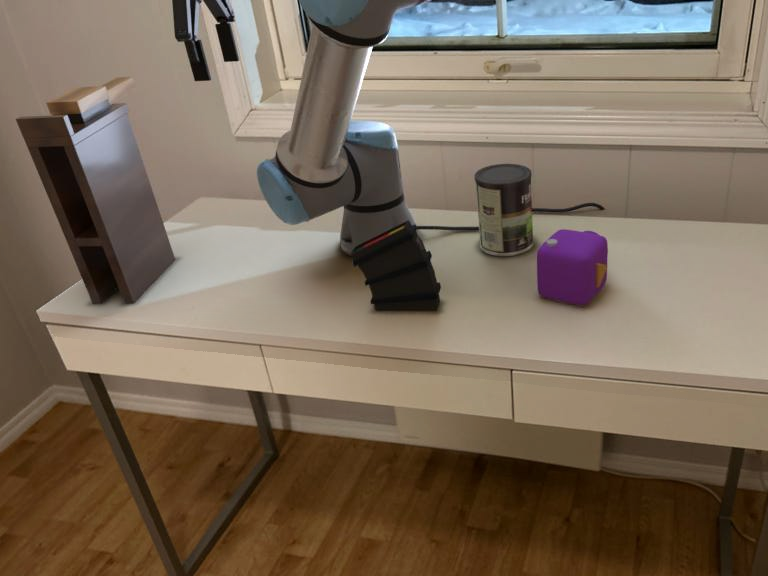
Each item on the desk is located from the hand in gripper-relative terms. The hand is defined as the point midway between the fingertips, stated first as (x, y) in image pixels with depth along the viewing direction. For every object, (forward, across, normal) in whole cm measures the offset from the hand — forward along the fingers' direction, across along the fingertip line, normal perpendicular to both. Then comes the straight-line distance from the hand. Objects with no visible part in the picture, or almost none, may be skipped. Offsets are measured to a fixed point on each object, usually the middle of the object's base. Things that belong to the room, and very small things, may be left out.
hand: (218, 70), depth 135 cm
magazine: (+33, +29, +35) cm, 56 cm away
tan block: (+3, +10, -18) cm, 21 cm away
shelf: (+33, +18, -18) cm, 41 cm away
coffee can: (+33, +6, +51) cm, 61 cm away
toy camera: (+33, +23, +64) cm, 75 cm away
